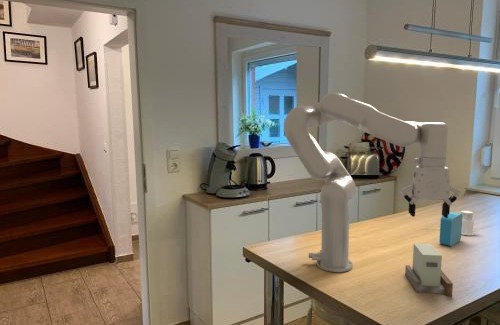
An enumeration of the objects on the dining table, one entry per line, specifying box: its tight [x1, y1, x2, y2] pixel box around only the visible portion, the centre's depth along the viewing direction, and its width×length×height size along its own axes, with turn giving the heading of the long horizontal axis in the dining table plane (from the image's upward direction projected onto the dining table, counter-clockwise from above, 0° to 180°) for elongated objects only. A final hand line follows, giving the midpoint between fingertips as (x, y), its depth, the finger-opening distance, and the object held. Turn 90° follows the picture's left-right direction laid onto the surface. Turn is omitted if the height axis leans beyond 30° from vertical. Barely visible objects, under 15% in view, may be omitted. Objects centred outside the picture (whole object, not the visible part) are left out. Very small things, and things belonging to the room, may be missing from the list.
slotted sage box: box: [411, 242, 443, 287], centre depth 122 cm, size 6×10×10 cm, turn 172°
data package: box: [438, 211, 462, 247], centre depth 159 cm, size 12×4×12 cm, turn 133°
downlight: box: [460, 210, 475, 236], centre depth 170 cm, size 8×7×10 cm
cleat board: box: [404, 264, 454, 297], centre depth 124 cm, size 10×20×4 cm, turn 172°
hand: (428, 216), depth 120 cm, fingers open, 9 cm apart
